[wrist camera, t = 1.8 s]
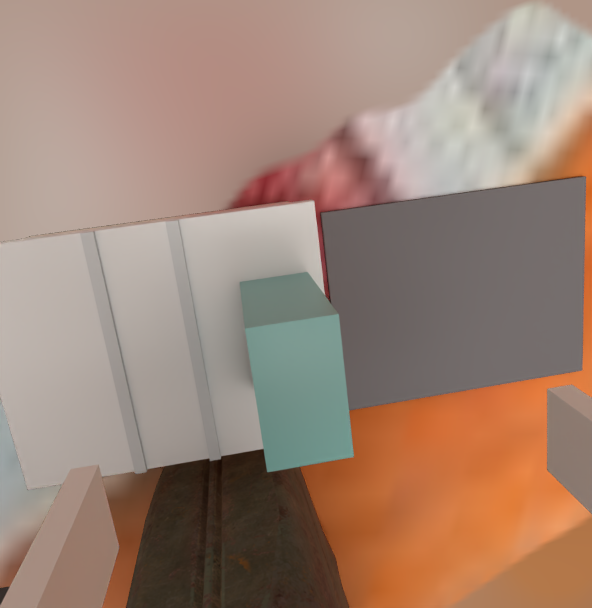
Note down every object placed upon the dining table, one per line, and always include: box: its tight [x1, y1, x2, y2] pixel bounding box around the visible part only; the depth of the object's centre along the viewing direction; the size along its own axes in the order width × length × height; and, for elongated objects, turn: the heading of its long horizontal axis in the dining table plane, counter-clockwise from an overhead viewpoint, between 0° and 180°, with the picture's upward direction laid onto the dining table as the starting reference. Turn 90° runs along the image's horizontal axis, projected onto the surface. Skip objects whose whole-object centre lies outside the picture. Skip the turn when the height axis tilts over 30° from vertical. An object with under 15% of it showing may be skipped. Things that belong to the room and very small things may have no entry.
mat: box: [320, 176, 586, 410], centre depth 38 cm, size 18×14×1 cm
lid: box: [0, 200, 354, 490], centre depth 25 cm, size 17×13×9 cm
